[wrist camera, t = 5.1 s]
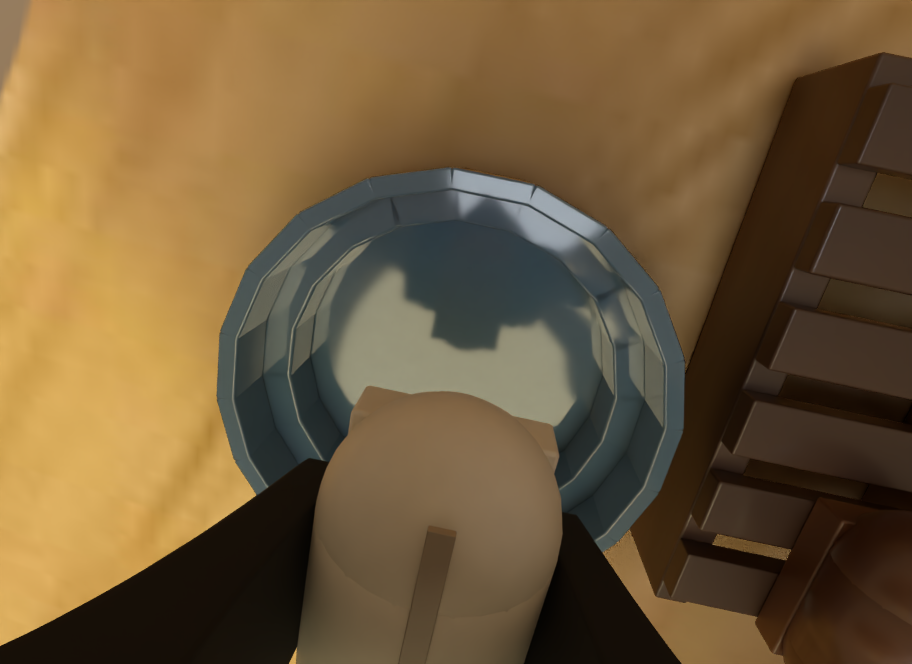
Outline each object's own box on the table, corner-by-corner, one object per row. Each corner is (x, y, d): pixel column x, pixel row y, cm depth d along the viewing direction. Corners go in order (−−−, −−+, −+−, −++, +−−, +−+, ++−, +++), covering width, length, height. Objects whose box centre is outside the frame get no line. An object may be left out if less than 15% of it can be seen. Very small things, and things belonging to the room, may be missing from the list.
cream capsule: (492, 650, 10) (490, 881, 7) (325, 615, 10) (245, 828, 7) (572, 380, 8) (624, 522, 5) (367, 336, 8) (283, 448, 5)
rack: (850, 574, 18) (941, 677, 15) (628, 526, 18) (661, 617, 15) (1097, 138, 14) (1324, 127, 10) (795, 76, 14) (908, 42, 10)
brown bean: (854, 667, 15) (956, 809, 11) (739, 642, 15) (809, 777, 11) (959, 496, 13) (1118, 608, 10) (827, 468, 13) (940, 570, 10)
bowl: (582, 540, 19) (605, 635, 15) (266, 472, 19) (208, 549, 15) (694, 215, 15) (762, 231, 11) (296, 132, 15) (228, 120, 11)
